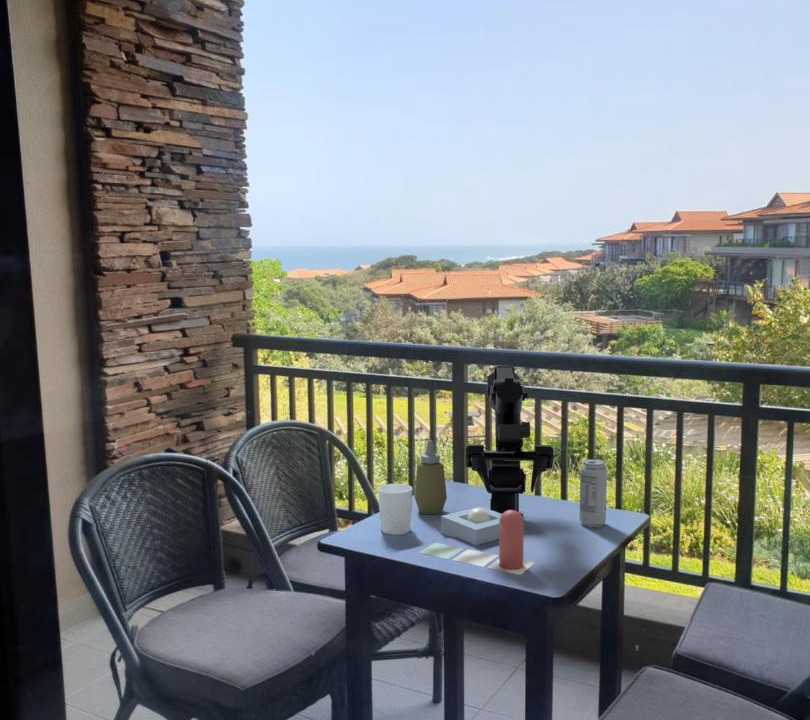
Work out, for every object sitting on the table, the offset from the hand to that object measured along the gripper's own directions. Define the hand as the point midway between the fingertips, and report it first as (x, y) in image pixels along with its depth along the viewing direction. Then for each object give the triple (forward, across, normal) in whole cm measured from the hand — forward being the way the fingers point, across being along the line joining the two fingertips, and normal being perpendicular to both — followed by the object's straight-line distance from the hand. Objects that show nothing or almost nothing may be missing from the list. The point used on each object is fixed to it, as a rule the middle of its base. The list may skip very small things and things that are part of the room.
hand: (510, 491), depth 167 cm
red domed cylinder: (+15, 0, +3) cm, 15 cm away
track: (+13, -7, +6) cm, 16 cm away
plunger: (+1, -7, +17) cm, 19 cm away
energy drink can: (-5, +20, +24) cm, 32 cm away
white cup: (0, -26, +19) cm, 32 cm away
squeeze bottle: (-10, -18, +29) cm, 36 cm away
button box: (+2, -7, +18) cm, 19 cm away
